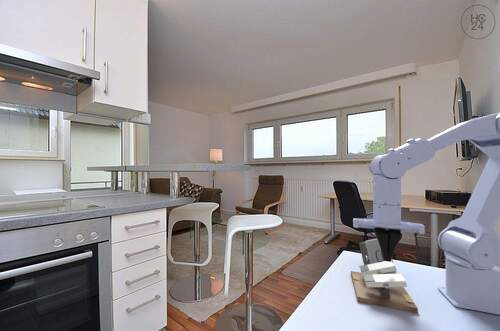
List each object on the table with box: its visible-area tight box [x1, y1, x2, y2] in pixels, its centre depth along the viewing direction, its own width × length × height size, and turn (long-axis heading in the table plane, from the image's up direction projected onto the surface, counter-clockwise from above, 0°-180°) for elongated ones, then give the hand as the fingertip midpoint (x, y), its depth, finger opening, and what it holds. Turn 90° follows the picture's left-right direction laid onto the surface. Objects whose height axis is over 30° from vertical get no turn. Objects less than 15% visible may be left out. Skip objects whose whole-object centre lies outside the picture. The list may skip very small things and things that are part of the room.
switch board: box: [350, 270, 419, 314], centre depth 53 cm, size 12×13×3 cm
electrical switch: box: [358, 238, 395, 265], centre depth 66 cm, size 9×5×9 cm, turn 116°
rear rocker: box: [358, 261, 398, 277], centre depth 56 cm, size 8×4×2 cm, turn 71°
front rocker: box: [363, 273, 408, 288], centre depth 50 cm, size 8×4×2 cm, turn 71°
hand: (386, 259), depth 52 cm, fingers closed
